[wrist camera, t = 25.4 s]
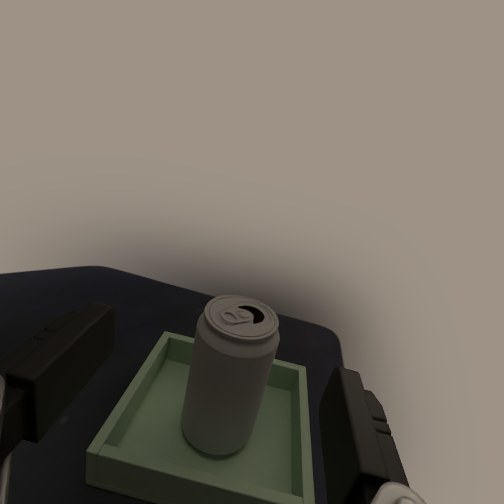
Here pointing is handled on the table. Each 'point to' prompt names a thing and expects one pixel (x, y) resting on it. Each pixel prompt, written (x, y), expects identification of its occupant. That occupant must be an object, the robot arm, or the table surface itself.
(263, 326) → the beverage can
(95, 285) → the table surface
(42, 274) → the table surface
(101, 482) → the tray
